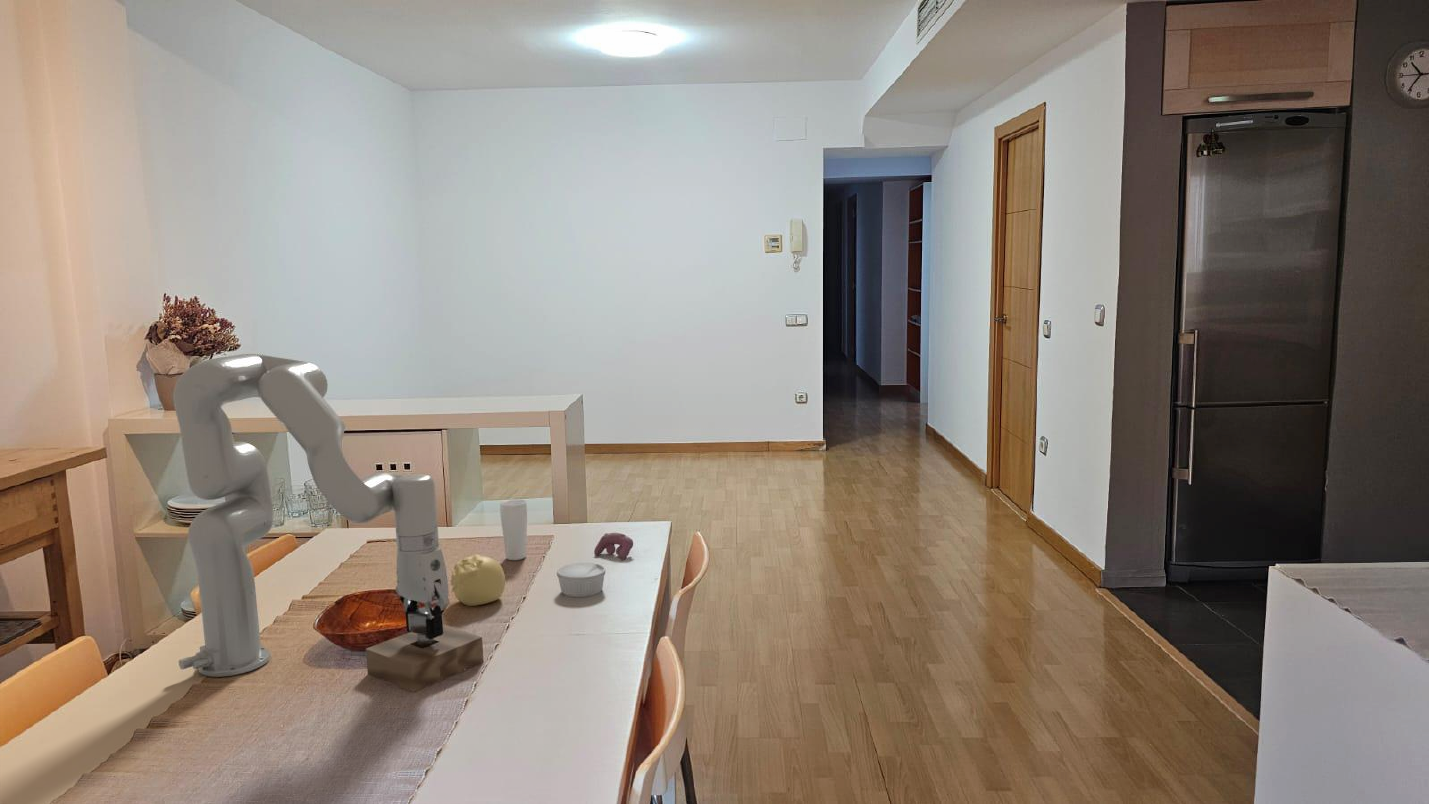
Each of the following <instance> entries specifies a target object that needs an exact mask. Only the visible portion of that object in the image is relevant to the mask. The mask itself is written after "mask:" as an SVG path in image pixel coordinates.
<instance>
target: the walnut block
mask: <svg viewBox="0 0 1429 804" xmlns="http://www.w3.org/2000/svg"><path fill="white" fill-rule="evenodd" d="M483 645H484V644H483V636H480V635H476V634H473V633H470V632H468V631H464V630H461V629H458V628H455V627H453V626H449V625H446V624H443V635H441V636H438V637H436V638H434V644H433V645H430V646H428V647H425V648H423V649H422V648H419V647H418V642H417V633H413V632H410V633H409V632H407V633H404V634H402V635H399V636H396V637H393V638H391V639H388V640H386V641H383V642H380V643H378V644H375V645H372V646H370V647H367V648H365V656H366V657H365V658H366V659H365V660H366V668H367V669H366V670H367V675H369V676H371V677H375V678H377V679H378V680H379V679H380V680H381V681H384V682H386V683H389V684H392V685H394V686H397V687H399V688H401V689H404V690H406V691H408V692H411V693H415V692H417V691H421V690H423V689H424V688H426V687H430V686H431V685H434V684H436V683H438V682H441V681H443V680H445V679H448V678H450V677H452V676H455V675H456V673H457V674H459V673H461V672H463V671H462V670H464V669H466V670H469V669H470V668H472V667H475V666H478V665H479V663H480V664H482V663H484V661H485V660H484V647H483ZM477 664H478V665H477ZM460 671H461V672H460ZM464 671H465V670H464ZM458 672H459V673H458ZM454 674H455V675H454ZM447 677H448V678H447ZM444 678H445V679H444ZM442 679H443V680H442ZM440 680H441V681H440Z"/></svg>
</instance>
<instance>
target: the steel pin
mask: <svg viewBox="0 0 1429 804" xmlns="http://www.w3.org/2000/svg"><path fill="white" fill-rule="evenodd" d="M431 607H432V610H433V609H434V608H435V606H434V607H433V606H431ZM417 608H418V609H415V610H412V611H410V612H409V613H408V621H409V631H410V632H413V633H417V642H418V647H419V648H422V649H423V648H425V647H428V646H430V645H433V644H434V638H433V639H428V638H427V627H426V619H427V618H428V615H427V611H426V608H425V606H423V607H420V608H419V607H417Z"/></svg>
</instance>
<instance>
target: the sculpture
mask: <svg viewBox="0 0 1429 804" xmlns="http://www.w3.org/2000/svg"><path fill="white" fill-rule="evenodd" d="M450 585H451V586H452V588H451V592H453V593H454V596H455V598H456V599H457V600H458V601H459V602H461V603H463V604H464V605H466V606H468V607H469V606H470V607H471V606H472V607H473V606H480V605H485V604H488V603H489V604H490V603H493V602H495V601H496V600H499V599H501V597H502V595H503V593H504V590H505V587H506V576H505V572H504V569H503V567H502V566H501V564H500V563H499V562H498V561H497V560H495V559H494V558H491V557H488V556H485V555H484V556H482V555H480V554H478V553H475V554H473V555H470V556H467V557H463V559H462V560H460V561H456V562H455V564H454V567H453V570H452V571H451V577H450Z"/></svg>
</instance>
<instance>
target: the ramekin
mask: <svg viewBox="0 0 1429 804" xmlns="http://www.w3.org/2000/svg"><path fill="white" fill-rule="evenodd" d="M605 575H606V568H605V567H604V566H603V565H602V564H599V563H595V562H576V563H570V564H567V565H566V564H565V565H563V566H561V567H559V568H558V569H557V571H556V576H557V578H558V583H559V588H560V591H561V593H562V594H564V596H567V597H571V598H588V597H592V596H595V595H597V594H599V593H600V592H601V591H602V590H603V588H604V587H603V586H604V580H605Z"/></svg>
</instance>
